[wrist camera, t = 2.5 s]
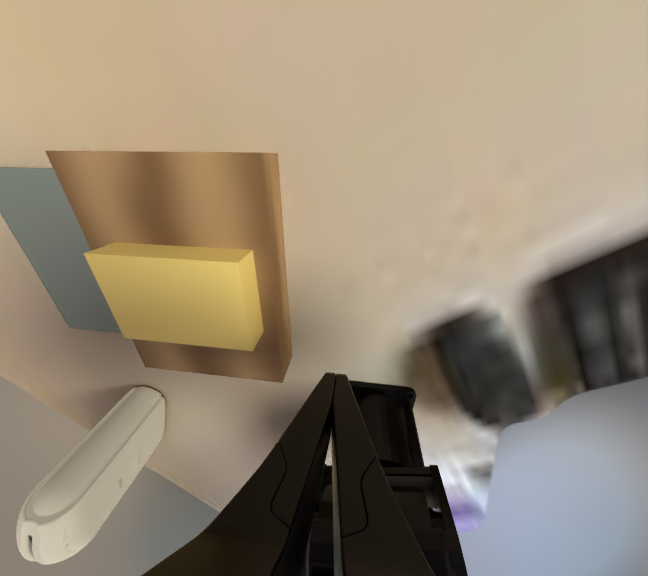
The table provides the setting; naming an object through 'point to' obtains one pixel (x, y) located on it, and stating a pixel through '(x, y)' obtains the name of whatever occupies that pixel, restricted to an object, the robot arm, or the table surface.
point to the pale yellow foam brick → (181, 293)
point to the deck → (191, 233)
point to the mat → (54, 245)
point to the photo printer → (90, 479)
